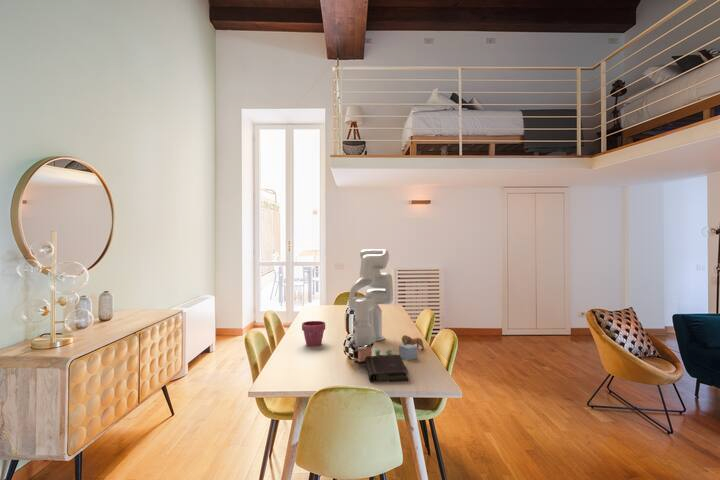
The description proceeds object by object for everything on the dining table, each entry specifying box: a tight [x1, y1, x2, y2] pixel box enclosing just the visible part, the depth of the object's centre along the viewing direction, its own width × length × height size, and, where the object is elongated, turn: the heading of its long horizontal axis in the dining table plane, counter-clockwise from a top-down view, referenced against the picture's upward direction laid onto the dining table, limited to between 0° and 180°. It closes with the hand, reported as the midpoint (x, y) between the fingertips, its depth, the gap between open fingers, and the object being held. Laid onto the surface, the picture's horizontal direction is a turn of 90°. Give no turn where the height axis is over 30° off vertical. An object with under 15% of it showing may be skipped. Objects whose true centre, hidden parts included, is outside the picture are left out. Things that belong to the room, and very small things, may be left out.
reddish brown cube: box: [352, 346, 373, 363], centre depth 202 cm, size 7×7×6 cm
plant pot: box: [301, 320, 326, 347], centre depth 235 cm, size 14×14×13 cm
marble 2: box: [385, 348, 392, 355], centre depth 214 cm, size 3×3×3 cm
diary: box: [364, 354, 410, 383], centre depth 186 cm, size 19×25×5 cm
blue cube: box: [398, 344, 419, 361], centre depth 208 cm, size 7×7×6 cm
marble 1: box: [374, 348, 381, 356], centre depth 213 cm, size 3×3×3 cm
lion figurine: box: [401, 334, 426, 351], centre depth 222 cm, size 15×5×9 cm, turn 113°
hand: (362, 356), depth 203 cm, fingers closed on reddish brown cube, 6 cm apart
